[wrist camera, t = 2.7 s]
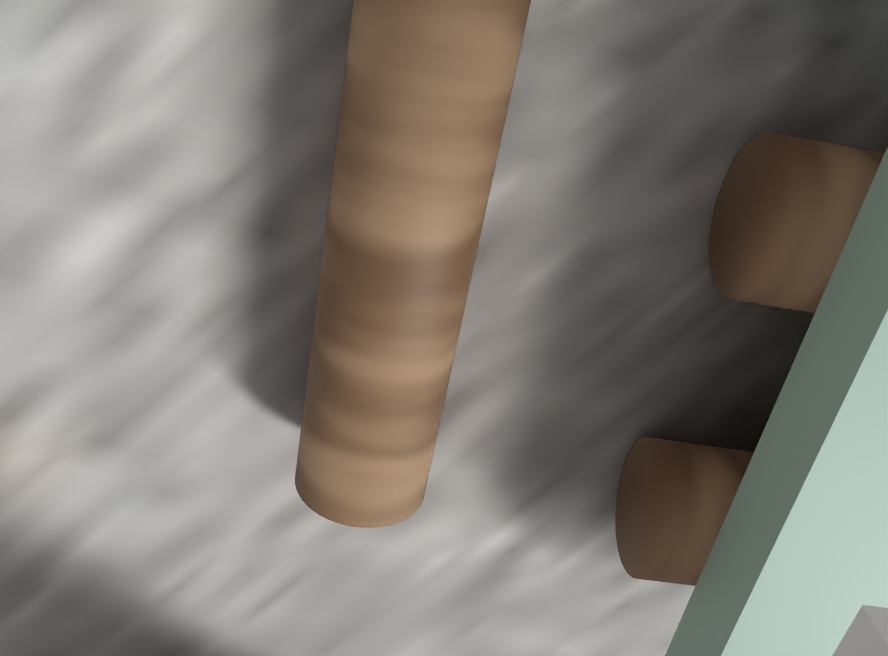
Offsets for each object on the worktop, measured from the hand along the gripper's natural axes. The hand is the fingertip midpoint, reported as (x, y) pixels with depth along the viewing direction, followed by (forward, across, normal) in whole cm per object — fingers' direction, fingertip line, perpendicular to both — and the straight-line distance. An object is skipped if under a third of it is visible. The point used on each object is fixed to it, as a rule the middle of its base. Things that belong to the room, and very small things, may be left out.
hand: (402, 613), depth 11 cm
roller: (+19, 0, 0) cm, 19 cm away
